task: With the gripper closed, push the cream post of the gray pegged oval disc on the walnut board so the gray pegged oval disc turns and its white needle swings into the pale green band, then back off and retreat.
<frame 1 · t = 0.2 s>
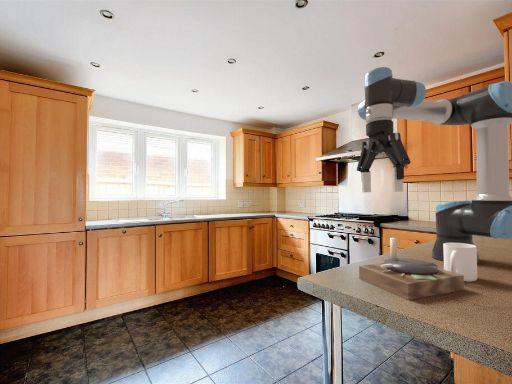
hand: (381, 192, 79), 27 cm above the counter, fingers open, 13 cm apart
mug: (458, 279, 82), on the counter
gray pegged oval disc: (405, 254, 79), point 8 cm above the counter, hinge at 0.0°
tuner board: (408, 283, 78), on the counter
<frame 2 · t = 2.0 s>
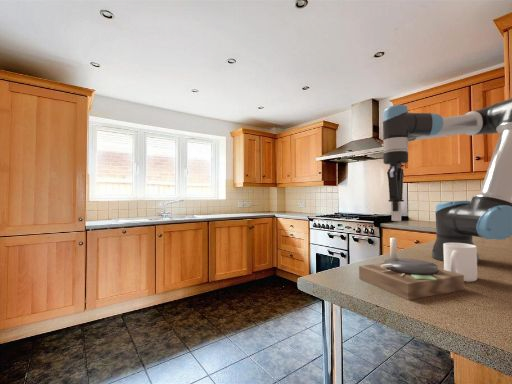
hand: (396, 220, 90), 17 cm above the counter, fingers closed
nothing on the counter moved.
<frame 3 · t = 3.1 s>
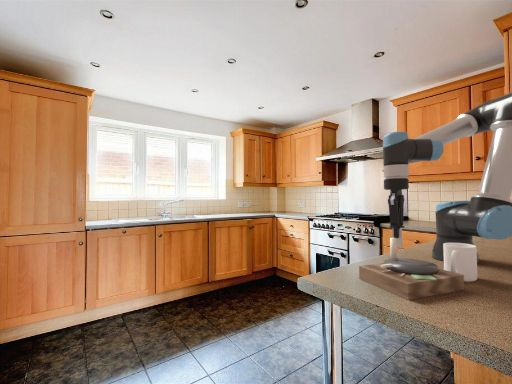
hand: (397, 247, 90), 8 cm above the counter, fingers closed
nothing on the counter moved.
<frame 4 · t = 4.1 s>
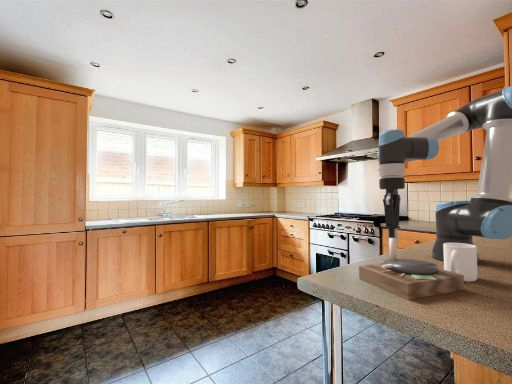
hand: (392, 248, 88), 9 cm above the counter, fingers closed
gray pegged oval disc: (405, 255, 79), point 8 cm above the counter, hinge at 2.4°, touching gripper
everything else where it was.
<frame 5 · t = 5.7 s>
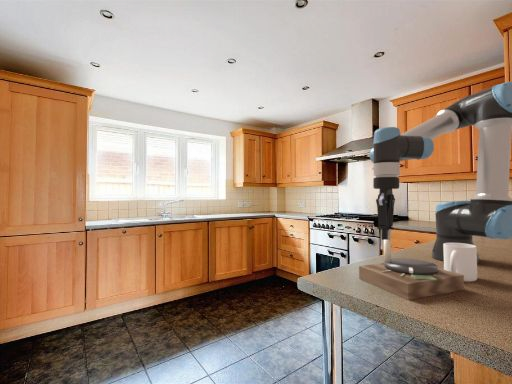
hand: (385, 249, 85), 9 cm above the counter, fingers closed
gray pegged oval disc: (409, 255, 78), point 8 cm above the counter, hinge at 43.5°, touching gripper
everything else where it was.
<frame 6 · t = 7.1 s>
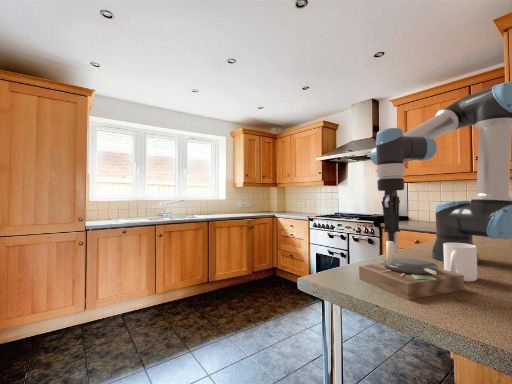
hand: (392, 252, 83), 8 cm above the counter, fingers closed
gray pegged oval disc: (413, 255, 78), point 8 cm above the counter, hinge at 74.0°
everything else where it was.
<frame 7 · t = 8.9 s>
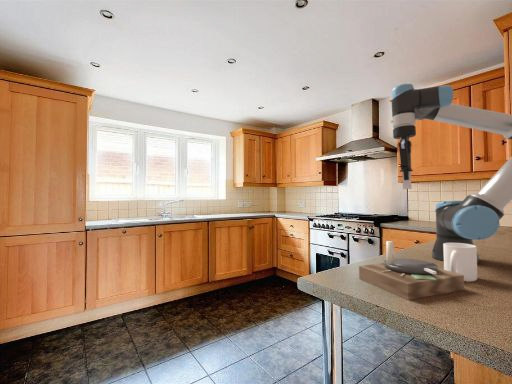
hand: (407, 188, 100), 28 cm above the counter, fingers closed
nothing on the counter moved.
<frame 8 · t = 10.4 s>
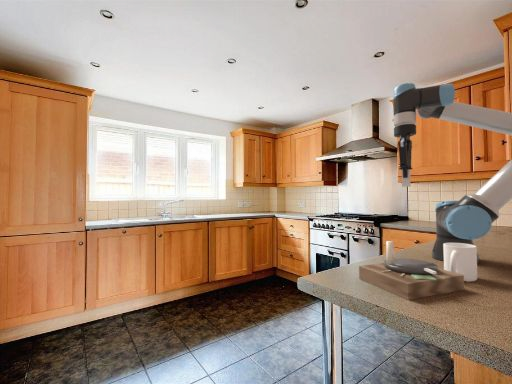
hand: (406, 186, 102), 29 cm above the counter, fingers closed
nothing on the counter moved.
at the end: gray pegged oval disc at +74° (first picture: +0°); gray pegged oval disc touching nothing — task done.
